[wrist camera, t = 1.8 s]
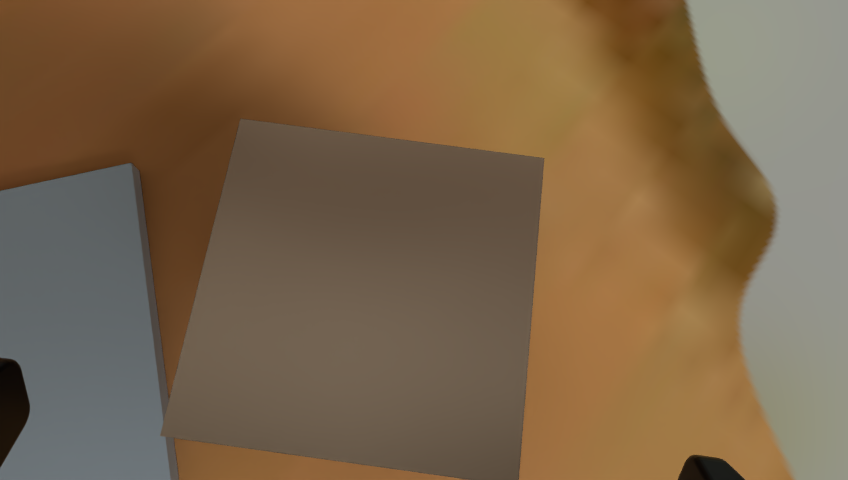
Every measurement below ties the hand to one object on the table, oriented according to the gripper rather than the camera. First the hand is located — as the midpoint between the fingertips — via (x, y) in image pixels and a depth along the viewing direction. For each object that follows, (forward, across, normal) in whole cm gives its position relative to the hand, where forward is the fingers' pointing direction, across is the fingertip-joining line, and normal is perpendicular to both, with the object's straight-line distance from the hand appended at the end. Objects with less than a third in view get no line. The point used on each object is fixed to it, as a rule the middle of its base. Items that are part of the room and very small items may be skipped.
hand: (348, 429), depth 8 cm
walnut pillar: (+8, 0, +6) cm, 10 cm away
